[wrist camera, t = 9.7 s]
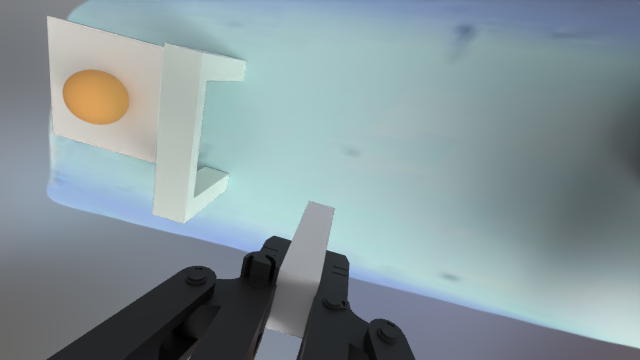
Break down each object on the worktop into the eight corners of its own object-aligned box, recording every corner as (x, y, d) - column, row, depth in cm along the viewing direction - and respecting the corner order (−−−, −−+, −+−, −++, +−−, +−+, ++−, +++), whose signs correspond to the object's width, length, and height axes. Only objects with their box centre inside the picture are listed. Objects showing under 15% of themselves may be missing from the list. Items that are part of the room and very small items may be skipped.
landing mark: (163, 46, 31) (162, 46, 31) (156, 162, 35) (155, 163, 35) (48, 15, 32) (46, 15, 32) (54, 133, 36) (53, 134, 36)
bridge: (247, 61, 31) (202, 52, 22) (227, 189, 35) (184, 223, 27) (219, 53, 31) (164, 42, 22) (203, 182, 35) (152, 214, 27)
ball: (60, 60, 30) (125, 71, 34) (62, 114, 32) (123, 119, 36) (61, 68, 26) (134, 80, 30) (64, 129, 28) (132, 133, 32)
